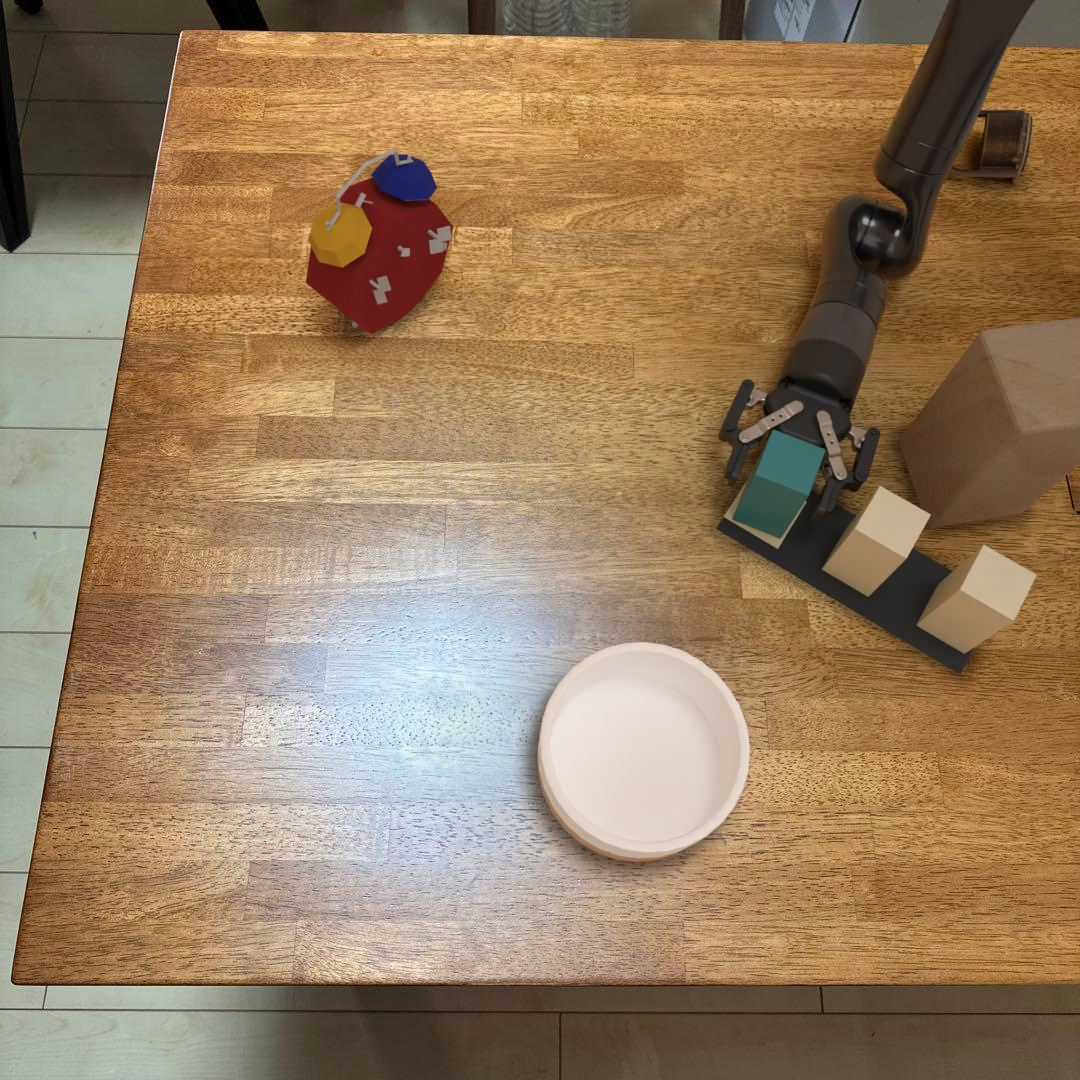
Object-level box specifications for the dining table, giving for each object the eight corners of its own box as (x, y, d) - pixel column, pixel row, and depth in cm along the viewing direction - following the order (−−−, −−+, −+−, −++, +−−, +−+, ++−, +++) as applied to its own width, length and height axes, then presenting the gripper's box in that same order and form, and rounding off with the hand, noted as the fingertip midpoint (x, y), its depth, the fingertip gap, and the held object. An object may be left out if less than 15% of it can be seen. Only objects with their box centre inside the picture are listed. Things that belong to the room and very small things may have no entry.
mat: (997, 599, 97) (999, 597, 97) (958, 675, 94) (960, 674, 94) (759, 462, 102) (760, 459, 102) (715, 530, 99) (716, 528, 99)
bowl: (743, 691, 93) (764, 666, 85) (713, 884, 87) (733, 876, 79) (559, 648, 94) (564, 620, 86) (516, 836, 88) (517, 824, 80)
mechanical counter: (1023, 185, 110) (1068, 113, 111) (920, 124, 111) (966, 54, 112) (994, 216, 117) (1037, 149, 118) (898, 159, 118) (942, 93, 119)
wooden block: (1021, 516, 101) (1137, 416, 82) (925, 530, 100) (1020, 432, 81) (988, 427, 104) (1092, 313, 86) (895, 440, 104) (980, 327, 85)
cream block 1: (891, 556, 98) (931, 514, 89) (868, 597, 96) (906, 558, 87) (845, 529, 99) (880, 485, 90) (821, 569, 97) (854, 528, 88)
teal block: (796, 496, 100) (826, 449, 91) (780, 539, 98) (809, 495, 89) (748, 477, 101) (773, 428, 92) (731, 519, 99) (755, 474, 90)
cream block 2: (986, 611, 96) (1037, 574, 87) (964, 654, 95) (1014, 620, 85) (938, 583, 97) (983, 544, 88) (915, 625, 96) (959, 589, 86)
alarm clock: (415, 241, 111) (397, 97, 93) (473, 285, 109) (467, 148, 91) (317, 325, 107) (277, 192, 88) (375, 373, 105) (348, 247, 86)
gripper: (766, 313, 97) (709, 452, 91) (911, 367, 95) (862, 512, 89) (749, 356, 103) (694, 489, 98) (884, 407, 102) (836, 545, 96)
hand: (774, 500), depth 93 cm, fingers open, 8 cm apart
